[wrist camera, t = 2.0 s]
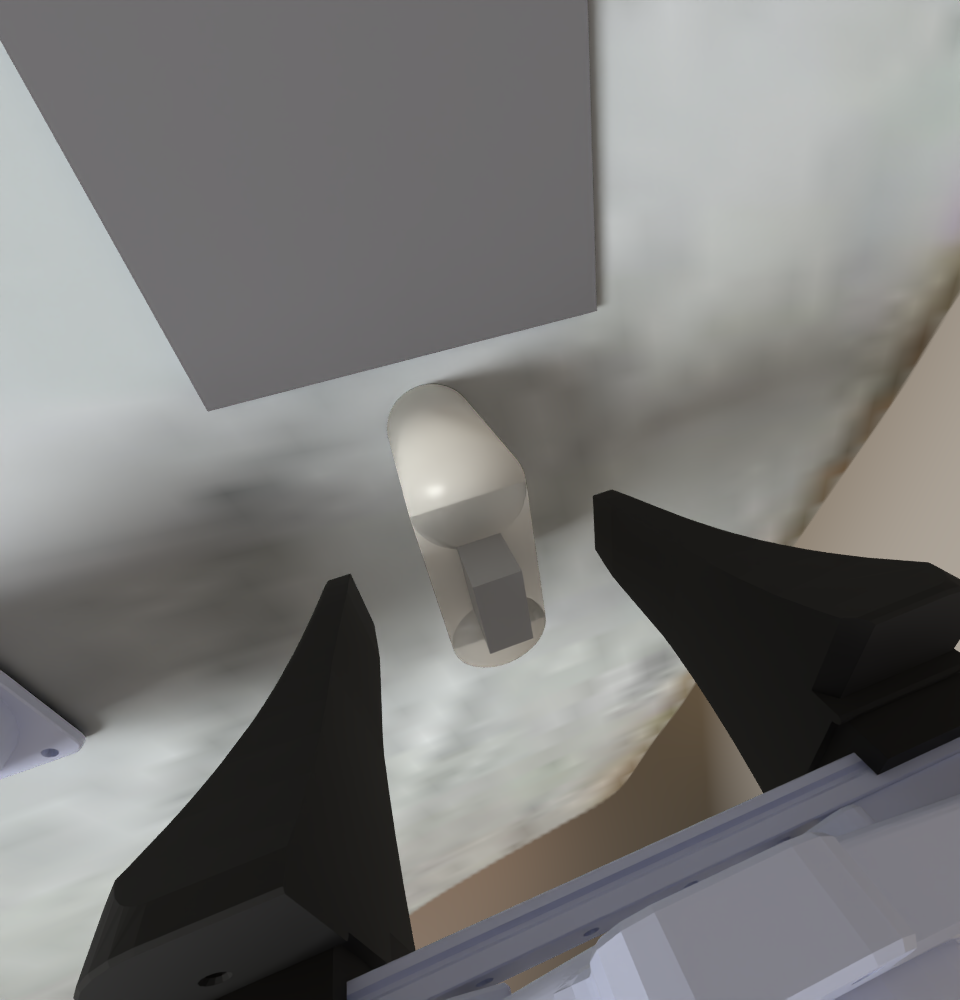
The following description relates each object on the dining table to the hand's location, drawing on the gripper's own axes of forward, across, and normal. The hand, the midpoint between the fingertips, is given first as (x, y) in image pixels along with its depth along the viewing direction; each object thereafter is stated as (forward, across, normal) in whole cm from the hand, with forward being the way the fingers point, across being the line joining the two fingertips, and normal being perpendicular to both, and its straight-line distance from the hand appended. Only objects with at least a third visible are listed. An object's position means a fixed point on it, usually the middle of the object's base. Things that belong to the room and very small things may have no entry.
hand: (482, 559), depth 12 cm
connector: (+4, 0, 0) cm, 4 cm away
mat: (+4, 0, -10) cm, 11 cm away
